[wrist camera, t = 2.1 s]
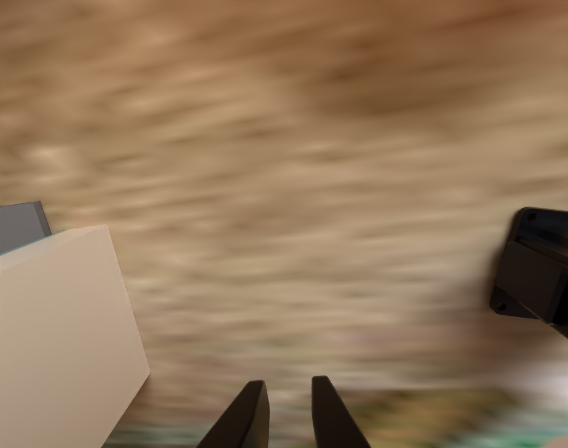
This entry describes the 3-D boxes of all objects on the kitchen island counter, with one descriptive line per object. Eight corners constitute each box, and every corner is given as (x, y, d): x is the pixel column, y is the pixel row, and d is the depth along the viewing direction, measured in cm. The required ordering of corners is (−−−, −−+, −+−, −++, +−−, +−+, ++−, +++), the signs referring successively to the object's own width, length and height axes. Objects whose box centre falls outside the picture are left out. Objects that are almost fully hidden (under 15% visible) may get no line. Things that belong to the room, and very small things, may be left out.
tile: (106, 224, 20) (-130, 327, 9) (150, 372, 22) (10, 584, 12) (62, 230, 20) (-216, 336, 9) (111, 375, 23) (-61, 584, 12)
